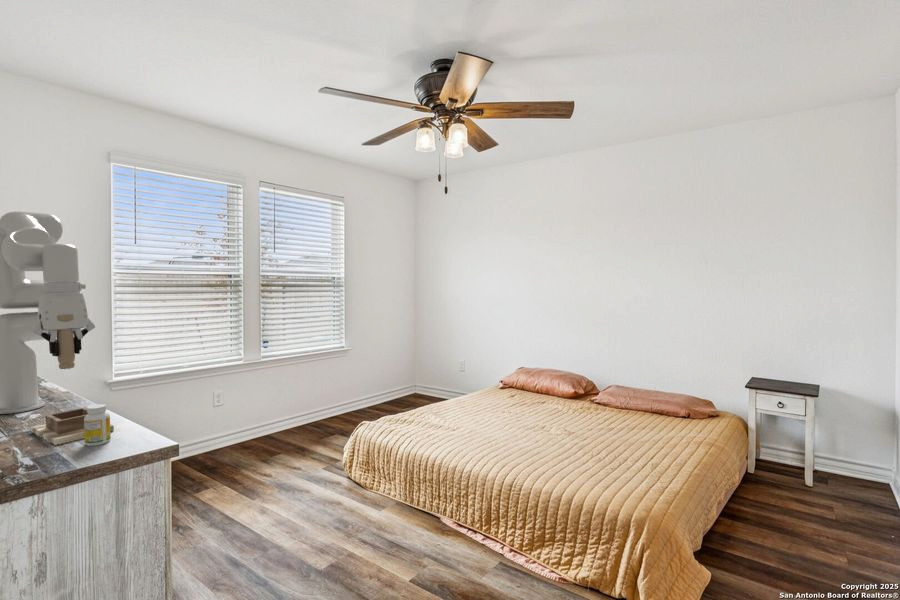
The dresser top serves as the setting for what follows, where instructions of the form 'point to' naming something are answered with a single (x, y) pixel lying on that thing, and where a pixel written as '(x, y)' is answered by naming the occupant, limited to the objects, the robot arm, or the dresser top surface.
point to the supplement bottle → (97, 425)
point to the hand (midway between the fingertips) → (66, 353)
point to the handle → (66, 344)
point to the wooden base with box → (64, 426)
